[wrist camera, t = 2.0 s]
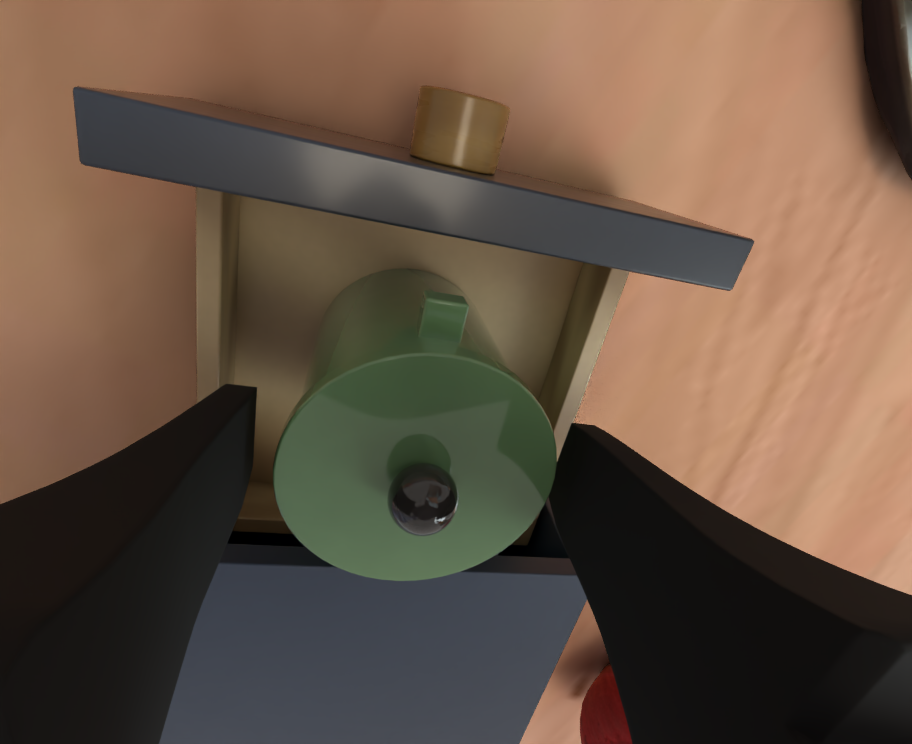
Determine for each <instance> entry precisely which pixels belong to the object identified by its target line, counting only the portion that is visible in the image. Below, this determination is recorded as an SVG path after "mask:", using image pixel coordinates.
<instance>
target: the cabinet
mask: <svg viewBox="0 0 912 744" xmlns="http://www.w3.org/2000/svg"><path fill="white" fill-rule="evenodd" d="M586 600H587V597H586V595H585V593H584V590H583V588H582V586H581V583H580V581H579V579H578V577H577V574H576V572H575V570H574V567H573V565H572V563H571V560H570V558H569V556H568V553H567V551H566V549H565V546H564V544H563V541H562V539H561V537H560V534H559V532H558V529H557V527H556V523H555V520H554V516H553V513H552V509H551V505H550V501H549V497H548V498H547V501H546V503H545V505H544V506H543V508H542V510H541V511H540V513H539V516H538V519H537V521H536V524H535V527H534V529H533V532H532V535H531V537H530V540H529V543H528V545H527V546H523V545H513V544H512V545H509V546H508V547H507V548H505V549H504V550H503V551H501V552H499V553H498V554H496V555H495V556H493V557H492V558H490V559H488V560H486V561H484V562H482V563H480V564H478V565H476V566H474V567H471V568H469V569H466V570H464V571H461V572H458V573H454V574H451V575H447V576H443V577H438V578H433V579H426V580H417V581H390V580H379V579H374V578H368V577H364V576H360V575H356V574H353V573H350V572H347V571H345V570H342V569H340V568H337V567H335V566H333V565H331V564H329V563H328V562H326V561H324V560H322V559H321V558H319V557H318V556H316V555H315V554H314V553H312V552H311V551H309V550H308V549H307V548H306V547H305V546H304V545H303V544H302V543H301V542H300V541H299V540H298V539H297V538H296V537H295V535H294V534H279V533H259V532H239V531H232V533H231V535H230V538H229V540H228V543H227V545H226V547H225V550H224V552H223V555H222V557H221V559H220V562H219V564H218V567H217V569H216V571H215V574H214V576H213V579H212V581H211V583H210V586H209V588H208V591H207V593H206V595H205V598H204V600H203V603H202V605H201V608H200V611H199V613H198V616H197V619H196V622H195V624H194V627H193V631H192V634H191V637H190V640H189V644H188V647H187V650H186V654H185V657H184V660H183V663H182V667H181V670H180V673H179V677H178V680H177V683H176V687H175V690H174V694H173V697H172V701H171V704H170V708H169V711H168V714H167V718H166V721H165V725H164V728H163V732H162V735H161V739H160V742H159V744H519V743H520V741H521V739H522V737H523V734H524V732H525V730H526V728H527V726H528V724H529V722H530V720H531V717H532V715H533V713H534V711H535V709H536V707H537V705H538V703H539V700H540V698H541V696H542V694H543V692H544V690H545V688H546V685H547V683H548V681H549V679H550V677H551V675H552V673H553V671H554V668H555V666H556V664H557V662H558V660H559V658H560V656H561V654H562V651H563V649H564V647H565V645H566V643H567V641H568V639H569V637H570V634H571V632H572V630H573V628H574V626H575V624H576V622H577V620H578V617H579V615H580V613H581V611H582V609H583V607H584V605H585V602H586Z"/></svg>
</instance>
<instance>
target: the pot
mask: <svg viewBox="0 0 912 744" xmlns="http://www.w3.org/2000/svg"><path fill="white" fill-rule="evenodd" d="M556 465H557V447H556V442H555V436H554V432H553V429H552V426H551V424H550V421H549V419H548V417H547V415H546V413H545V411H544V410H543V408H542V406H541V404H540V402H539V401H538V399H537V397H536V396H535V395H534V393H533V392H532V391H531V390H530V388H529V387H528V386H527V384H526V383H524V382H523V381H522V380H521V379H520V378H519V377H518V376H517V375H516V374H515V373H514V372H512V371H511V370H510V368H509V366H508V365H507V363H506V361H505V359H504V357H503V355H502V354H501V352H500V350H499V348H498V346H497V345H496V343H495V341H494V339H493V337H492V335H491V334H490V332H489V330H488V328H487V326H486V324H485V323H484V321H483V319H482V317H481V315H480V314H479V312H478V310H477V308H476V306H475V305H474V303H473V302H472V301H471V300H470V298H469V297H468V296H467V295H466V294H465V293H464V292H463V291H462V290H461V289H460V288H459V287H457V286H456V285H454V284H453V283H452V282H450V281H448V280H446V279H445V278H443V277H441V276H438V275H436V274H433V273H431V272H427V271H422V270H418V269H409V268H398V269H389V270H382V271H379V272H375V273H372V274H369V275H367V276H365V277H362V278H360V279H358V280H357V281H355V282H353V283H352V284H350V285H349V286H348V287H346V288H345V289H344V290H343V291H341V292H340V293H339V294H338V295H337V296H336V298H335V299H334V300H333V301H332V302H331V304H330V305H329V307H328V308H327V309H326V311H325V313H324V315H323V317H322V319H321V322H320V325H319V328H318V331H317V335H316V339H315V343H314V347H313V351H312V355H311V359H310V363H309V367H308V370H307V374H306V378H305V382H304V386H303V390H302V394H301V398H300V400H299V402H298V403H297V404H296V406H295V407H294V408H293V410H292V411H291V413H290V415H289V417H288V419H287V421H286V423H285V424H284V427H283V429H282V432H281V435H280V438H279V441H278V445H277V448H276V452H275V457H274V463H273V488H274V494H275V499H276V502H277V505H278V507H279V510H280V513H281V515H282V517H283V519H284V521H285V522H286V524H287V526H288V528H289V529H290V530H291V532H292V533H293V534H294V535H295V537H296V538H297V539H298V540H299V541H300V542H301V543H302V544H303V545H304V546H305V547H306V548H307V549H308V550H309V551H311V552H312V553H314V554H315V555H316V556H318V557H319V558H321V559H322V560H324V561H326V562H328V563H329V564H331V565H333V566H335V567H337V568H340V569H342V570H345V571H347V572H350V573H353V574H356V575H360V576H364V577H368V578H374V579H379V580H390V581H417V580H426V579H433V578H438V577H443V576H447V575H451V574H454V573H458V572H461V571H464V570H466V569H469V568H471V567H474V566H476V565H478V564H480V563H482V562H484V561H486V560H488V559H490V558H492V557H493V556H495V555H496V554H498V553H499V552H501V551H503V550H504V549H505V548H507V547H508V546H509V545H510V544H512V543H513V542H514V541H516V540H517V539H518V538H519V537H520V536H521V535H522V534H523V533H524V532H525V531H526V530H527V529H528V528H529V526H530V525H531V524H532V523H533V521H534V520H535V519H536V518H537V516H538V515H539V513H540V511H541V510H542V508H543V506H544V505H545V503H546V501H547V498H548V496H549V494H550V492H551V488H552V485H553V482H554V478H555V472H556Z"/></svg>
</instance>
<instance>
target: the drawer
mask: <svg viewBox="0 0 912 744" xmlns="http://www.w3.org/2000/svg"><path fill="white" fill-rule="evenodd" d="M73 96H74V106H75V117H76V127H77V137H78V148H79V158H80V162H81V163H82V164H83V165H85V166H91V167H96V168H101V169H106V170H111V171H116V172H121V173H126V174H132V175H137V176H142V177H147V178H152V179H157V180H162V181H167V182H173V183H178V184H183V185H188V186H193V187H196V347H197V403H198V402H200V401H201V400H203V399H204V398H205V397H207V396H208V395H210V394H211V393H213V392H214V391H216V390H217V389H219V388H220V387H222V386H223V385H225V384H234V385H243V386H252V387H257V400H256V419H255V438H254V457H253V468H252V472H251V476H250V479H249V483H248V487H247V491H246V494H245V498H244V502H243V505H242V508H241V511H240V513H239V516H238V518H237V521H236V523H235V526H234V528H233V530H232V531H239V532H259V533H279V534H293V533H292V532H291V530H290V529H289V528H288V526H287V524H286V522H285V521H284V519H283V517H282V515H281V513H280V510H279V507H278V505H277V502H276V499H275V494H274V488H273V463H274V457H275V452H276V448H277V445H278V441H279V438H280V435H281V432H282V429H283V427H284V424H285V423H286V421H287V419H288V417H289V415H290V413H291V411H292V410H293V408H294V407H295V406H296V404H297V403H298V402H299V400H300V398H301V394H302V390H303V386H304V382H305V378H306V374H307V370H308V367H309V363H310V359H311V355H312V351H313V347H314V343H315V339H316V335H317V331H318V328H319V325H320V322H321V319H322V317H323V315H324V313H325V311H326V309H327V308H328V307H329V305H330V304H331V302H332V301H333V300H334V299H335V298H336V296H337V295H338V294H339V293H340V292H341V291H343V290H344V289H345V288H346V287H348V286H349V285H350V284H352V283H353V282H355V281H357V280H358V279H360V278H362V277H365V276H367V275H369V274H372V273H375V272H379V271H382V270H389V269H398V268H409V269H418V270H422V271H427V272H431V273H433V274H436V275H438V276H441V277H443V278H445V279H446V280H448V281H450V282H452V283H453V284H454V285H456V286H457V287H459V288H460V289H461V290H462V291H463V292H464V293H465V294H466V295H467V296H468V297H469V298H470V300H471V301H472V302H473V303H474V305H475V306H476V308H477V310H478V312H479V314H480V315H481V317H482V319H483V321H484V323H485V324H486V326H487V328H488V330H489V332H490V334H491V335H492V337H493V339H494V341H495V343H496V345H497V346H498V348H499V350H500V352H501V354H502V355H503V357H504V359H505V361H506V363H507V365H508V366H509V368H510V370H511V371H512V372H514V373H515V374H516V375H517V376H518V377H519V378H520V379H521V380H522V381H523V382H524V383H526V384H527V386H528V387H529V388H530V390H531V391H532V392H533V393H534V395H535V396H536V397H537V399H538V401H539V402H540V404H541V406H542V408H543V410H544V411H545V413H546V415H547V417H548V419H549V421H550V424H551V426H552V429H553V432H554V436H555V442H556V447H557V460H558V458H559V455H560V452H561V450H562V447H563V444H564V442H565V439H566V436H567V434H568V431H569V428H570V426H571V423H573V422H574V419H575V417H576V414H577V411H578V409H579V406H580V403H581V401H582V398H583V395H584V393H585V390H586V387H587V385H588V382H589V379H590V377H591V374H592V371H593V368H594V366H595V363H596V360H597V358H598V355H599V352H600V350H601V347H602V344H603V342H604V339H605V336H606V334H607V331H608V328H609V326H610V323H611V320H612V318H613V315H614V312H615V309H616V307H617V304H618V301H619V299H620V296H621V293H622V291H623V288H624V285H625V283H626V280H627V277H628V275H629V272H634V273H639V274H644V275H650V276H655V277H660V278H665V279H670V280H675V281H680V282H685V283H691V284H696V285H701V286H706V287H711V288H716V289H721V290H727V291H730V290H732V289H733V287H734V284H735V282H736V280H737V278H738V276H739V274H740V272H741V270H742V267H743V265H744V263H745V261H746V259H747V257H748V255H749V253H750V250H751V248H752V246H753V244H754V241H753V240H752V239H750V238H747V237H744V236H741V235H738V234H735V233H731V232H728V231H725V230H722V229H719V228H716V227H713V226H710V225H706V224H703V223H700V222H697V221H694V220H691V219H688V218H685V217H681V216H678V215H675V214H672V213H669V212H666V211H663V210H660V209H656V208H653V207H650V206H647V205H644V204H641V203H638V202H635V201H631V200H626V199H622V198H618V197H614V196H609V195H605V194H601V193H596V192H592V191H588V190H583V189H579V188H575V187H570V186H566V185H562V184H558V183H553V182H549V181H545V180H540V179H536V178H532V177H527V176H523V175H519V174H514V173H510V172H506V171H502V170H497V169H496V168H497V164H498V160H499V156H500V151H501V147H502V143H503V139H504V134H505V130H506V126H507V122H508V117H509V113H510V108H509V107H507V106H506V105H503V104H501V103H498V102H495V101H492V100H489V99H485V98H482V97H478V96H475V95H471V94H467V93H463V92H459V91H454V90H450V89H445V88H440V87H434V86H421V88H420V91H419V97H418V103H417V110H416V116H415V122H414V128H413V134H412V140H411V146H410V149H407V148H403V147H398V146H394V145H390V144H385V143H381V142H377V141H372V140H368V139H364V138H359V137H355V136H351V135H347V134H342V133H338V132H334V131H329V130H325V129H321V128H316V127H312V126H308V125H303V124H299V123H295V122H291V121H286V120H282V119H278V118H273V117H269V116H265V115H260V114H256V113H252V112H248V111H243V110H239V109H235V108H230V107H226V106H222V105H217V104H213V103H209V102H204V101H200V100H196V99H192V98H183V97H173V96H164V95H154V94H145V93H135V92H126V91H116V90H107V89H98V88H88V87H79V86H78V87H74V89H73ZM538 516H539V515H538ZM538 516H537V518H536V519H535V520H534V521H533V523H532V524H531V525H530V526H529V528H528V529H527V530H526V531H525V532H524V533H523V534H522V535H521V536H520V537H519V538H518V539H517V540H516V541H514V542H513V543H512V544H513V545H523V546H527V545H528V543H529V540H530V537H531V535H532V532H533V529H534V527H535V524H536V521H537V519H538ZM512 544H510V545H512Z"/></svg>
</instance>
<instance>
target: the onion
mask: <svg viewBox="0 0 912 744" xmlns="http://www.w3.org/2000/svg"><path fill="white" fill-rule="evenodd" d="M580 734H581V743H582V744H632V740H631V736H630V732H629V728H628V724H627V720H626V716H625V713H624V709H623V706H622V702H621V699H620V695H619V692H618V688H617V684H616V681H615V677H614V674H613V671H612V667H611V664H609V665H607V666H606V667H604V669H603V670H602V671H601V673H600V674H599V676H598V677H597V678H596V680H595V681H594V682H593V684H592V685H591V687H590V688H589V690H588V692H587V694H586V696H585V698H584V701H583V703H582V710H581V717H580Z"/></svg>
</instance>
